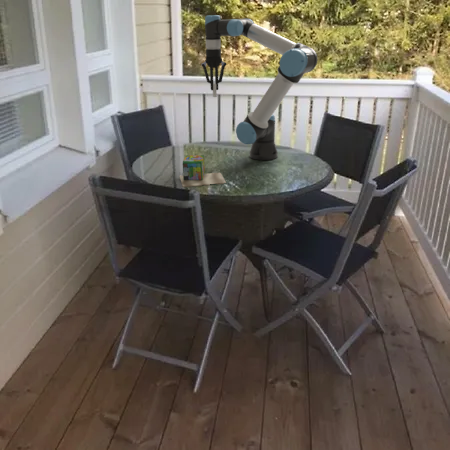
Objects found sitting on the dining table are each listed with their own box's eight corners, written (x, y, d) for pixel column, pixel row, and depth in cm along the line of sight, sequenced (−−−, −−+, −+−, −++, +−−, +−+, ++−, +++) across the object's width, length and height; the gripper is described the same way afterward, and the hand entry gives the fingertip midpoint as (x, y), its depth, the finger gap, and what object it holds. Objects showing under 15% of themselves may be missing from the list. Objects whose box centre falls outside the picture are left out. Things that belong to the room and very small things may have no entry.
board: (220, 173, 249) (220, 172, 248) (226, 183, 234) (226, 182, 234) (179, 176, 246) (179, 175, 245) (182, 187, 231) (182, 185, 231)
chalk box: (205, 172, 249) (202, 182, 235) (186, 173, 249) (182, 183, 236) (204, 154, 245) (201, 163, 231) (185, 154, 245) (181, 163, 232)
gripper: (224, 47, 260) (225, 94, 269) (199, 48, 258) (201, 96, 267) (227, 48, 253) (228, 97, 262) (201, 49, 251) (203, 98, 260)
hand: (214, 96), depth 264 cm, fingers closed
